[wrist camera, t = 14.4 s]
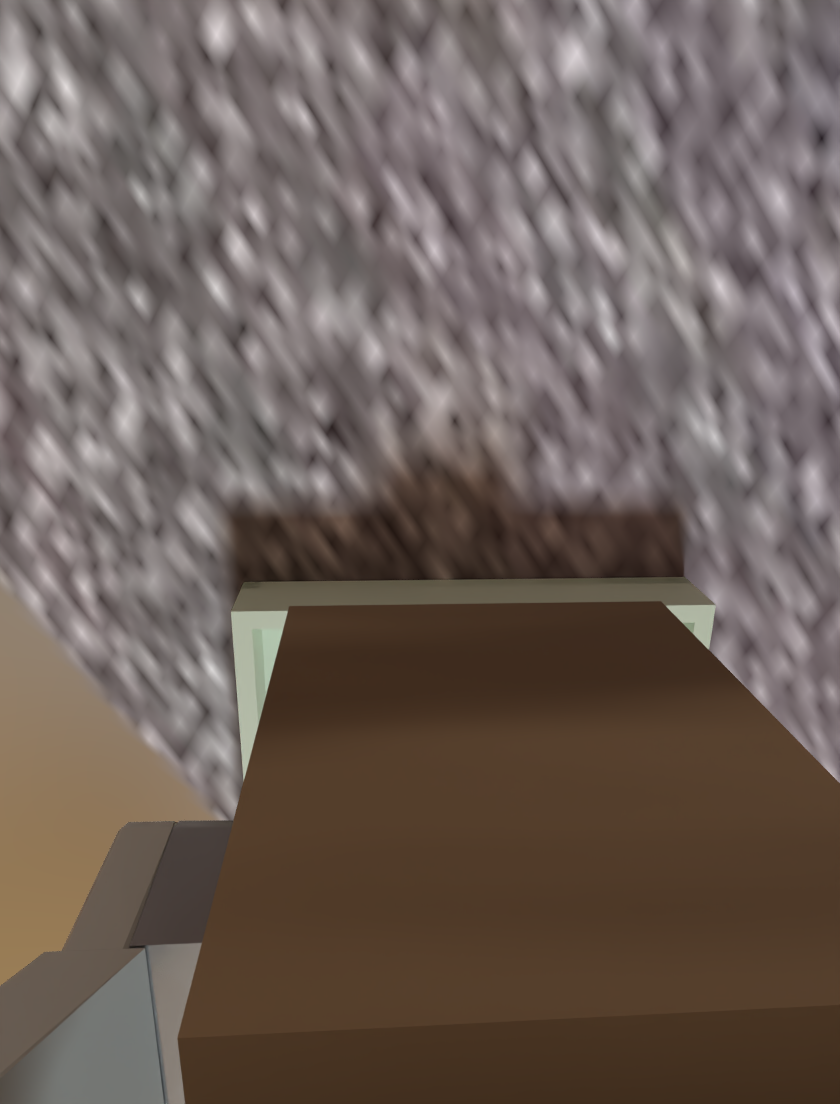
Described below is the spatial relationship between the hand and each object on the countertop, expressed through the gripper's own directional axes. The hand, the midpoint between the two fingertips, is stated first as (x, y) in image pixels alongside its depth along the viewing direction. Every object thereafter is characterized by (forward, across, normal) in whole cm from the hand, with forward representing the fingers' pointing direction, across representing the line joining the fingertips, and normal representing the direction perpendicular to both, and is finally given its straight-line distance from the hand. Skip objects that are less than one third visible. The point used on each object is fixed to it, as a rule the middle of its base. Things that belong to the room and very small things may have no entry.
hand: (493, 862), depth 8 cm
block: (+2, 0, 0) cm, 2 cm away
